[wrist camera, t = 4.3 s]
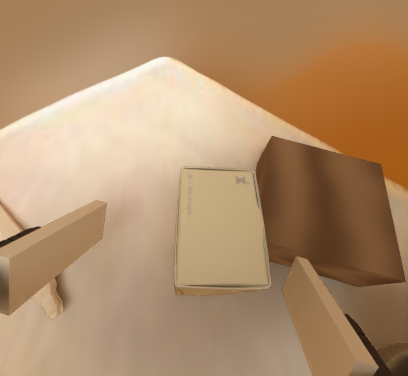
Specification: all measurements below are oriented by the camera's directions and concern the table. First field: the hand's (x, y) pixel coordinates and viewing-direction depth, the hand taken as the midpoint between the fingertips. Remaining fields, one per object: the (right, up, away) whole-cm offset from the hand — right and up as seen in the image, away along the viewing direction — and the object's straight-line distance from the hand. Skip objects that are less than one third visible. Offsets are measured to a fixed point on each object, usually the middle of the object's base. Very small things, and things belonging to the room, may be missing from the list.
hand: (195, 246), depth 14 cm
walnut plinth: (+12, +1, +10) cm, 16 cm away
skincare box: (0, -3, +7) cm, 8 cm away
